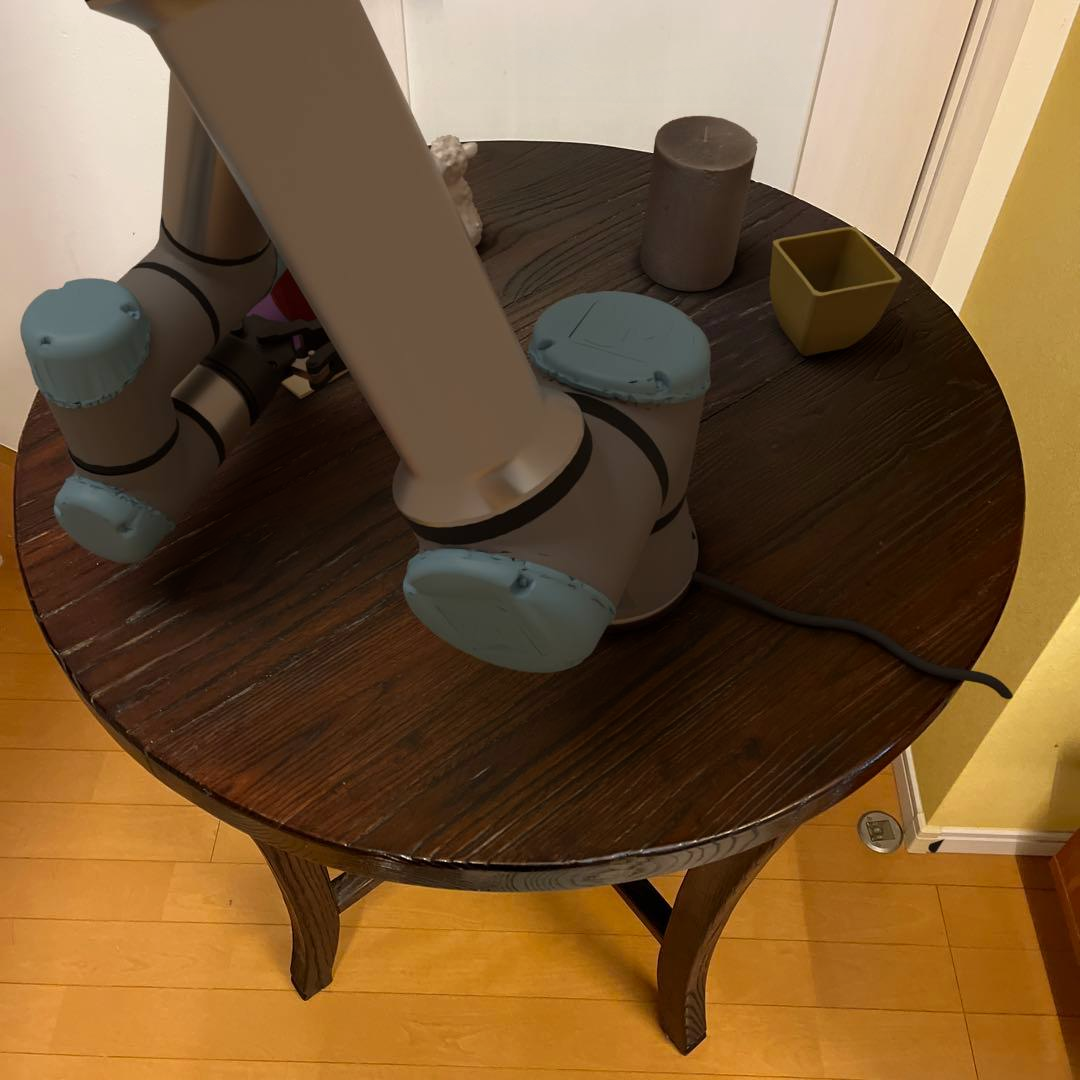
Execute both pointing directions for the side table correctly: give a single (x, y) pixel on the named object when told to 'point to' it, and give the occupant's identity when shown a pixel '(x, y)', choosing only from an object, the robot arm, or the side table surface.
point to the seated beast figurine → (458, 179)
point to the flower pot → (829, 288)
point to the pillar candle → (696, 201)
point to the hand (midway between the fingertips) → (336, 248)
